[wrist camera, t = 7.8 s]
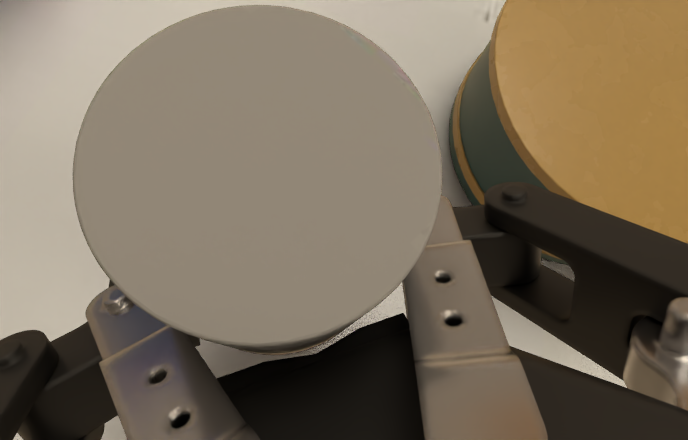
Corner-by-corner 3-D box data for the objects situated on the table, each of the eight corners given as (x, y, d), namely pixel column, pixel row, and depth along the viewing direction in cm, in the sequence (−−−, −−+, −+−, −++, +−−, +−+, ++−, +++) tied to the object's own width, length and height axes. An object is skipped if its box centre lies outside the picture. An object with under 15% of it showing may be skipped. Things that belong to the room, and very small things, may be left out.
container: (268, 222, 21) (214, -62, 6) (359, 277, 21) (512, 108, 6) (206, 315, 20) (-34, 216, 5) (303, 375, 19) (332, 445, 5)
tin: (489, 301, 21) (567, 281, 15) (412, 56, 24) (450, -42, 18) (727, 240, 23) (878, 201, 17) (628, 21, 26) (728, -77, 20)
